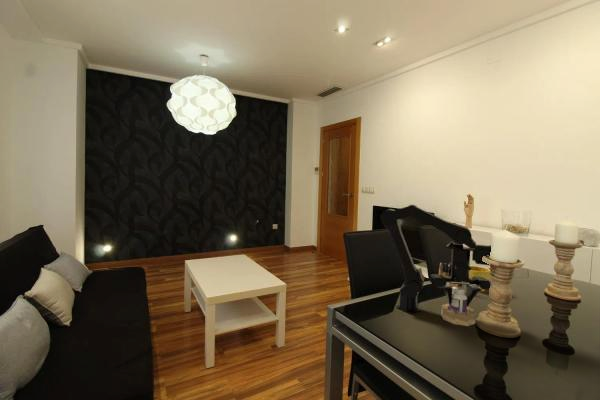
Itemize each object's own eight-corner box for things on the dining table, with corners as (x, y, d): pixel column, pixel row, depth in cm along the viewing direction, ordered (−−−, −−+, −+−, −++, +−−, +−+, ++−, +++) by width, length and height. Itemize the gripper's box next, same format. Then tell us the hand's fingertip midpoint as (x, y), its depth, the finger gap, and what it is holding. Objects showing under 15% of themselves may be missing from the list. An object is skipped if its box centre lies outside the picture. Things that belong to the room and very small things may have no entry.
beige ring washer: (463, 327, 100) (463, 317, 100) (436, 316, 108) (436, 306, 108) (479, 321, 105) (480, 311, 105) (453, 311, 113) (453, 301, 113)
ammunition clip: (463, 292, 134) (464, 266, 133) (462, 293, 132) (463, 267, 132) (438, 286, 141) (439, 261, 141) (437, 287, 140) (438, 262, 139)
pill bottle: (462, 312, 109) (463, 286, 108) (469, 318, 104) (470, 291, 103) (446, 311, 109) (448, 285, 109) (452, 317, 104) (454, 290, 104)
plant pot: (458, 287, 141) (459, 266, 141) (472, 284, 145) (473, 264, 145) (479, 294, 132) (480, 272, 131) (494, 291, 136) (495, 270, 136)
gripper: (477, 257, 112) (475, 298, 113) (426, 255, 115) (424, 295, 115) (493, 265, 101) (490, 310, 102) (435, 262, 104) (433, 306, 104)
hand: (458, 305), depth 106 cm, fingers closed on pill bottle, 5 cm apart
